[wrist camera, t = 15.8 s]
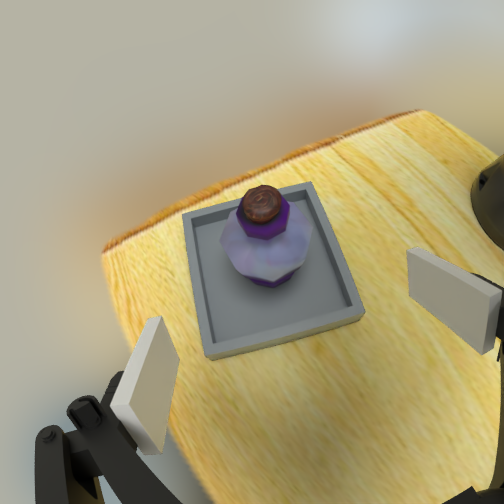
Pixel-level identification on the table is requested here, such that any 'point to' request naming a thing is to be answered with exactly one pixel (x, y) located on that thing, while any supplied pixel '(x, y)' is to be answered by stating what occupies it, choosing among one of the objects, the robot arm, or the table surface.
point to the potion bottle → (266, 237)
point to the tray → (265, 298)
